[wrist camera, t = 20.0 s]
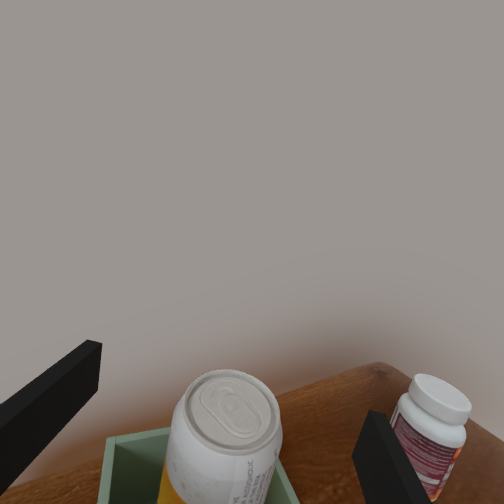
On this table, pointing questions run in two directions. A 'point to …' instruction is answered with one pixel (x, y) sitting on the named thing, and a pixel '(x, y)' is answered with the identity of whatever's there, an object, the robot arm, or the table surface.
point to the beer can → (222, 442)
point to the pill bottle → (431, 429)
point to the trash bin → (157, 471)
